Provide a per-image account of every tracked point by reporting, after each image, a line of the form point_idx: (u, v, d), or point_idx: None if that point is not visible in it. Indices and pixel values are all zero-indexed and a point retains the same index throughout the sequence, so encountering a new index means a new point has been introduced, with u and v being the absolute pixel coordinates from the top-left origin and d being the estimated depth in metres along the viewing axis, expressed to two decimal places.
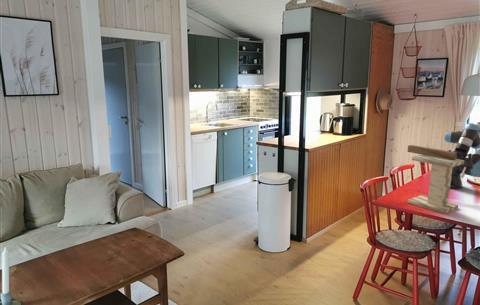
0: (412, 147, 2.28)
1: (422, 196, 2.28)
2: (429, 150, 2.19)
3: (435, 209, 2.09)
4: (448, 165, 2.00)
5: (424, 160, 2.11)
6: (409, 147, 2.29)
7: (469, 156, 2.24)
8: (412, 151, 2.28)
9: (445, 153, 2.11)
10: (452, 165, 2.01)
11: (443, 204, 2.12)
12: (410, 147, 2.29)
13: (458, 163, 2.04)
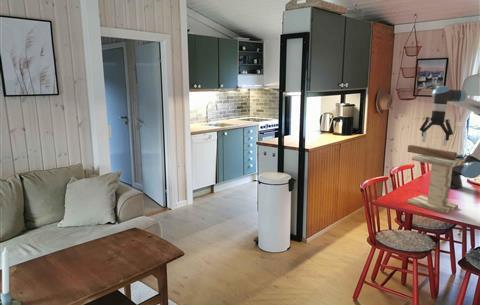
0: (412, 147, 2.28)
1: (422, 196, 2.28)
2: (429, 150, 2.19)
3: (435, 209, 2.09)
4: (448, 165, 2.00)
5: (424, 160, 2.11)
6: (409, 147, 2.29)
7: (446, 122, 2.25)
8: (412, 151, 2.28)
9: (445, 153, 2.11)
10: (452, 165, 2.01)
11: (443, 204, 2.12)
12: (410, 147, 2.29)
13: (458, 163, 2.04)
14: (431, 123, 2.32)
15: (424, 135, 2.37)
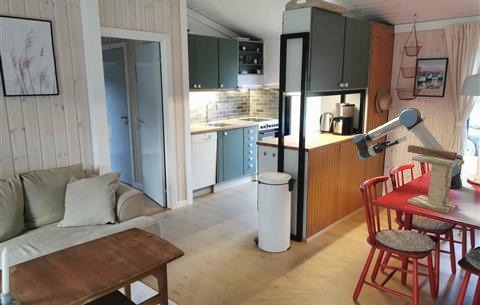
0: (412, 147, 2.28)
1: (422, 196, 2.28)
2: (429, 150, 2.19)
3: (435, 209, 2.09)
4: (448, 165, 2.00)
5: (424, 160, 2.11)
6: (409, 147, 2.29)
7: (378, 148, 2.58)
8: (412, 151, 2.28)
9: (445, 153, 2.11)
10: (452, 165, 2.01)
11: (443, 204, 2.12)
12: (410, 147, 2.29)
13: (458, 163, 2.04)
14: None
15: (400, 141, 2.57)
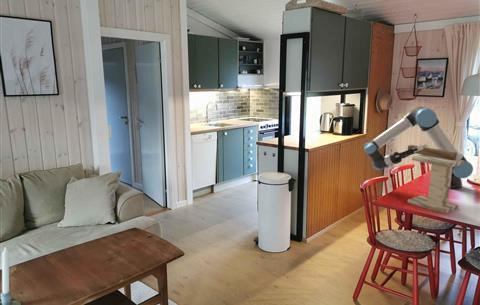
0: (412, 147, 2.28)
1: (422, 196, 2.28)
2: (429, 150, 2.19)
3: (435, 209, 2.09)
4: (448, 165, 2.00)
5: (424, 160, 2.11)
6: (409, 147, 2.29)
7: (399, 157, 2.32)
8: None
9: (445, 153, 2.11)
10: (452, 165, 2.01)
11: (443, 204, 2.12)
12: (410, 147, 2.29)
13: (458, 163, 2.04)
14: (406, 156, 2.35)
15: None
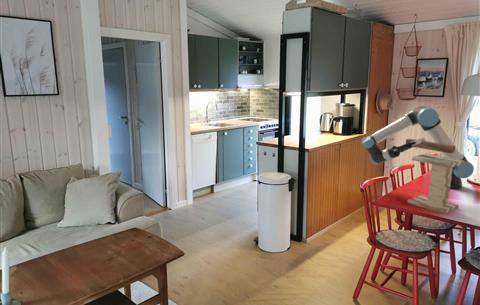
0: (410, 141, 2.26)
1: (422, 196, 2.28)
2: (427, 143, 2.17)
3: (435, 209, 2.09)
4: (448, 165, 2.00)
5: (424, 160, 2.11)
6: (407, 141, 2.28)
7: (397, 151, 2.30)
8: None
9: (443, 146, 2.09)
10: (452, 165, 2.01)
11: (443, 204, 2.12)
12: (408, 141, 2.27)
13: (458, 163, 2.04)
14: (405, 150, 2.33)
15: None
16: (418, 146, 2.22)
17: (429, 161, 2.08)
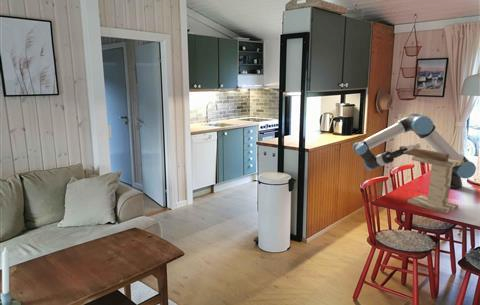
0: None
1: (422, 196, 2.28)
2: (421, 151, 2.14)
3: (435, 209, 2.09)
4: (448, 165, 2.00)
5: (424, 160, 2.11)
6: (401, 148, 2.25)
7: (390, 157, 2.27)
8: (404, 152, 2.23)
9: (437, 154, 2.06)
10: (452, 165, 2.01)
11: (443, 204, 2.12)
12: None
13: (458, 163, 2.04)
14: None
15: None
16: (411, 154, 2.19)
17: (429, 161, 2.08)
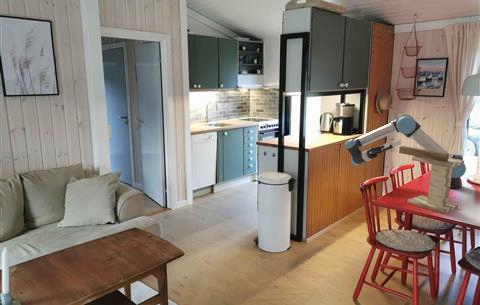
0: (404, 148, 2.23)
1: (422, 196, 2.28)
2: (421, 151, 2.14)
3: (435, 209, 2.09)
4: (448, 165, 2.00)
5: (424, 160, 2.11)
6: (401, 148, 2.25)
7: (372, 153, 2.49)
8: (404, 152, 2.23)
9: (437, 154, 2.06)
10: (452, 165, 2.01)
11: (443, 204, 2.12)
12: (402, 148, 2.24)
13: (458, 163, 2.04)
14: (382, 151, 2.53)
15: (395, 145, 2.49)
16: (411, 154, 2.19)
17: (429, 161, 2.08)
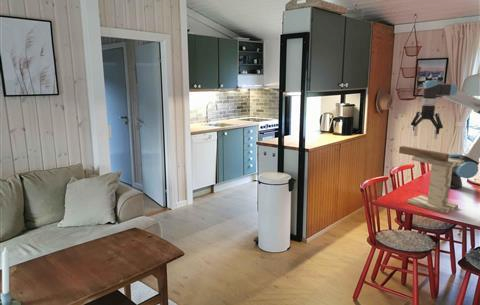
0: (404, 148, 2.23)
1: (422, 196, 2.28)
2: (421, 151, 2.14)
3: (435, 209, 2.09)
4: (448, 165, 2.00)
5: (424, 160, 2.11)
6: (401, 148, 2.25)
7: (436, 116, 2.29)
8: (404, 152, 2.23)
9: (437, 154, 2.06)
10: (452, 165, 2.01)
11: (443, 204, 2.12)
12: (402, 148, 2.24)
13: (458, 163, 2.04)
14: (421, 117, 2.36)
15: (415, 129, 2.42)
16: (411, 154, 2.19)
17: (429, 161, 2.08)
